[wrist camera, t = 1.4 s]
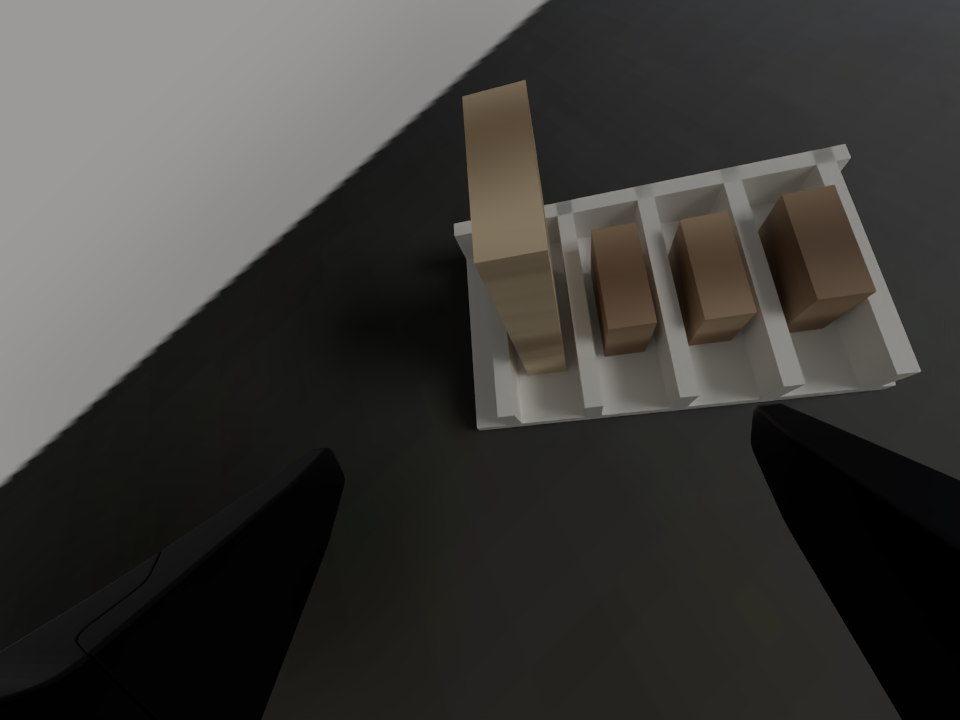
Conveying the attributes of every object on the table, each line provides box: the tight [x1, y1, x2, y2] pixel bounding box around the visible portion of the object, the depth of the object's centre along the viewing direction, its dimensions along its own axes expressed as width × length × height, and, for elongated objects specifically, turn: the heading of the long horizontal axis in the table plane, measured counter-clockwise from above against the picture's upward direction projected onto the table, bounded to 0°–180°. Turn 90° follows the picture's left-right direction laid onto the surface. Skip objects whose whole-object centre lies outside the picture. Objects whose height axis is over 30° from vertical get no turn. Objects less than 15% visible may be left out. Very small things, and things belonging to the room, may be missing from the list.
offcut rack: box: [454, 144, 921, 430], centre depth 22 cm, size 11×19×3 cm, turn 94°
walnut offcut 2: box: [668, 211, 757, 346], centre depth 20 cm, size 5×2×4 cm, turn 4°
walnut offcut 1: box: [591, 222, 657, 357], centre depth 21 cm, size 5×2×4 cm, turn 4°
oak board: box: [463, 80, 567, 376], centre depth 18 cm, size 6×2×12 cm, turn 4°
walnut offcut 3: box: [758, 185, 876, 333], centre depth 19 cm, size 5×2×4 cm, turn 4°
